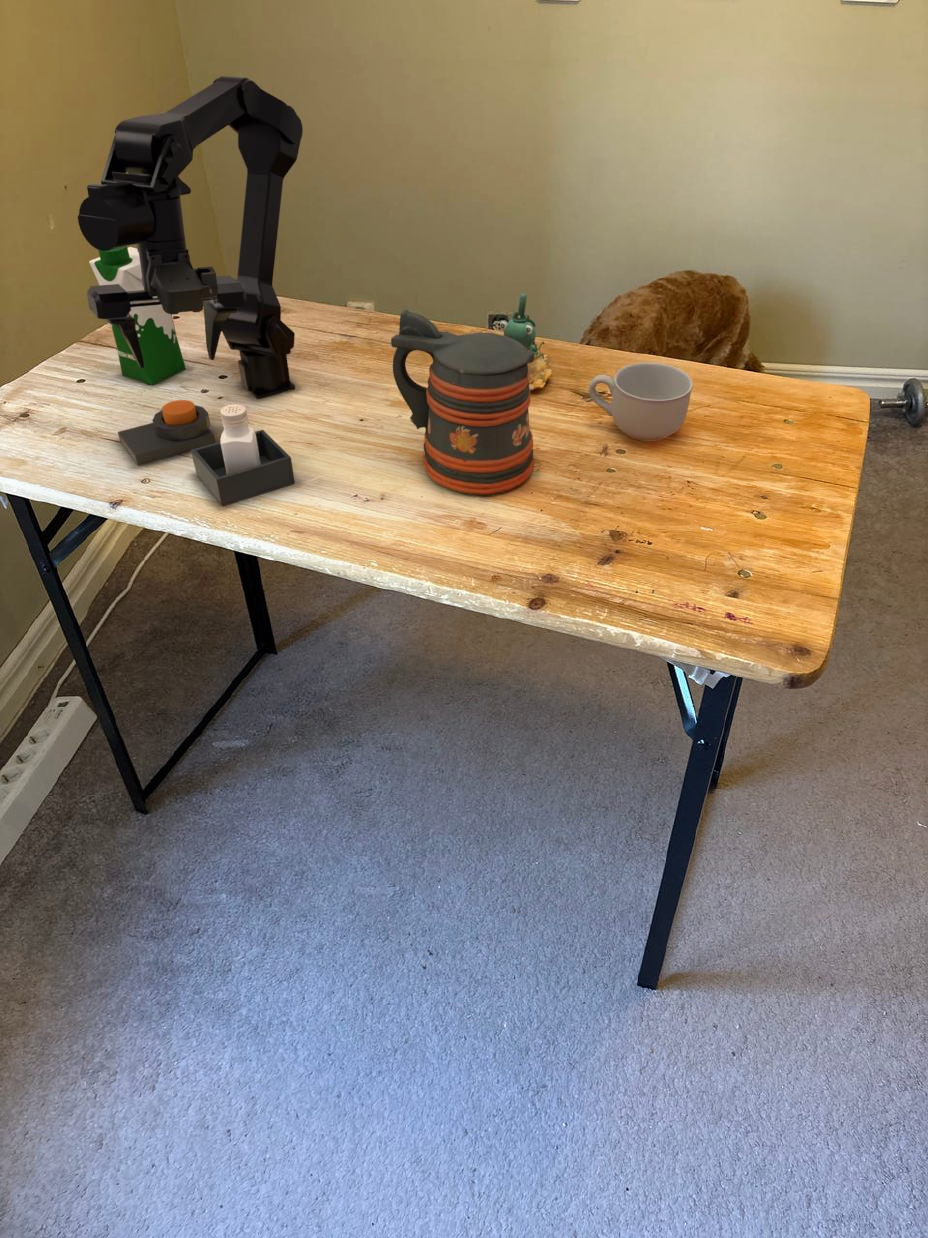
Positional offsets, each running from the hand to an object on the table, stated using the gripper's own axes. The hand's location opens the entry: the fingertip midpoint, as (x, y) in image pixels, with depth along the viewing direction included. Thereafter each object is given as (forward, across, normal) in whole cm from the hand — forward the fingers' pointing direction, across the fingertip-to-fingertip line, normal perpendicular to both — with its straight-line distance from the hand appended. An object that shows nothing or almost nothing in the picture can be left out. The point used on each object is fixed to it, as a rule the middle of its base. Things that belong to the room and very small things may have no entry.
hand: (177, 363), depth 120 cm
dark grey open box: (+12, +4, -13) cm, 18 cm away
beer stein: (+11, +30, -24) cm, 40 cm away
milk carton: (+10, +3, +26) cm, 28 cm away
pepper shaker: (+12, +4, -13) cm, 18 cm away
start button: (+8, 0, +2) cm, 8 cm away
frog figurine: (+7, +51, -7) cm, 52 cm away
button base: (+12, -2, +2) cm, 12 cm away
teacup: (+8, +56, -28) cm, 63 cm away
